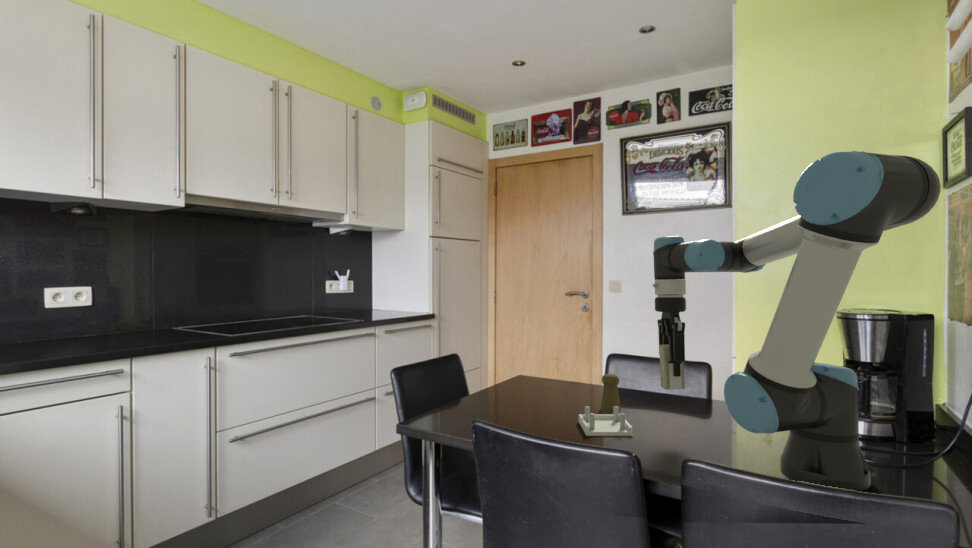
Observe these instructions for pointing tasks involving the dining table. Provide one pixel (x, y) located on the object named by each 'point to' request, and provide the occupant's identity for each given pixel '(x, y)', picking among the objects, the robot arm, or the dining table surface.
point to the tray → (605, 423)
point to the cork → (610, 393)
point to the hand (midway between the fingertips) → (672, 386)
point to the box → (667, 367)
